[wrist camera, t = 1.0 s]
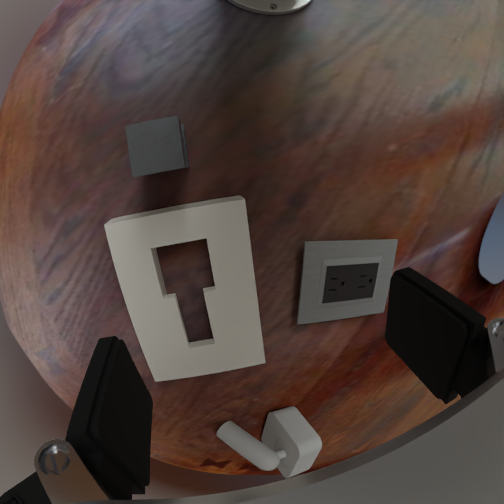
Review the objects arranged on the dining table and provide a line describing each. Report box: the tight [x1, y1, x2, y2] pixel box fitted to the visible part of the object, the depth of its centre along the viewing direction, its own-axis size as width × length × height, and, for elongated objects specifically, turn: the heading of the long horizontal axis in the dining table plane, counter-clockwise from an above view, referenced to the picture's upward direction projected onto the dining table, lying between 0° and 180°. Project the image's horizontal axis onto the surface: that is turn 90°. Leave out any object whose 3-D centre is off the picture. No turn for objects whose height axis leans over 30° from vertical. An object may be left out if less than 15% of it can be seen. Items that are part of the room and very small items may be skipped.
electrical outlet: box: [297, 239, 398, 325], centre depth 36 cm, size 13×10×2 cm
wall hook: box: [217, 406, 322, 478], centre depth 38 cm, size 10×12×12 cm
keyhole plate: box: [104, 195, 265, 382], centre depth 32 cm, size 20×14×3 cm
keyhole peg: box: [125, 115, 189, 177], centre depth 24 cm, size 4×4×9 cm
